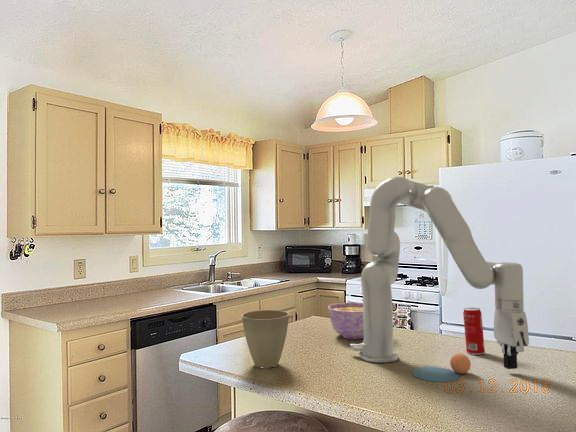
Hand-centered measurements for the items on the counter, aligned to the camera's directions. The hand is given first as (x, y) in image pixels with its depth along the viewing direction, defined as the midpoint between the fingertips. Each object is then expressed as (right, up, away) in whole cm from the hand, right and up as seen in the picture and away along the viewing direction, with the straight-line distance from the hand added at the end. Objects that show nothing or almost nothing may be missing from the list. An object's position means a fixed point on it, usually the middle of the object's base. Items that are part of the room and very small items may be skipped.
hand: (510, 367), depth 132 cm
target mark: (-22, -2, 0) cm, 22 cm away
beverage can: (-2, -2, +21) cm, 21 cm away
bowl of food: (-39, -3, +45) cm, 60 cm away
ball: (-15, +1, 0) cm, 15 cm away
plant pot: (-72, -3, +10) cm, 73 cm away
